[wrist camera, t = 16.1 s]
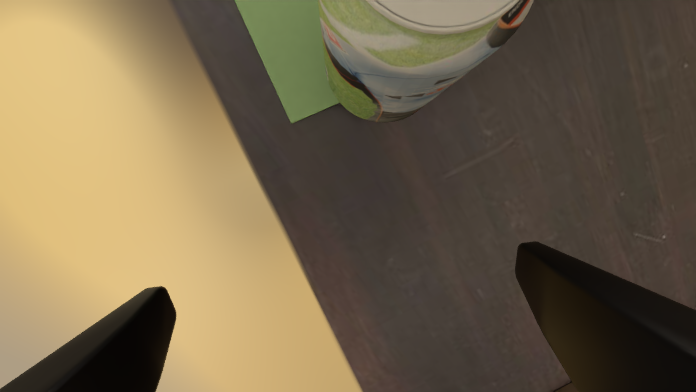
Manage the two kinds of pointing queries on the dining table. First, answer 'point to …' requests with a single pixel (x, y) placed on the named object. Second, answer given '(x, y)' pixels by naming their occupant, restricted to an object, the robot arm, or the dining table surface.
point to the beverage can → (408, 49)
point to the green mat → (291, 52)
